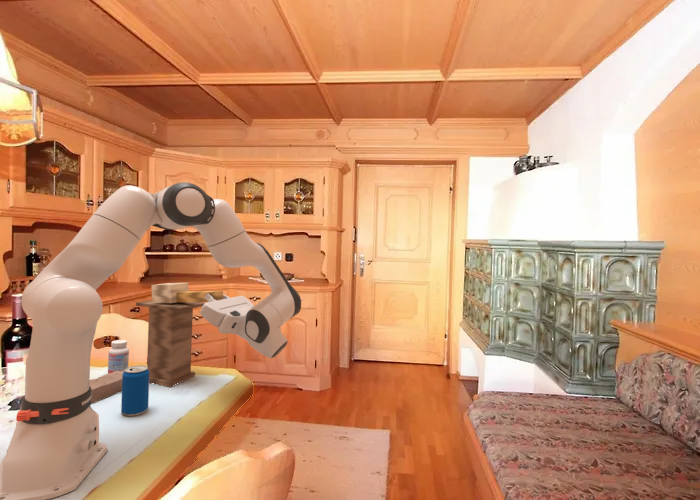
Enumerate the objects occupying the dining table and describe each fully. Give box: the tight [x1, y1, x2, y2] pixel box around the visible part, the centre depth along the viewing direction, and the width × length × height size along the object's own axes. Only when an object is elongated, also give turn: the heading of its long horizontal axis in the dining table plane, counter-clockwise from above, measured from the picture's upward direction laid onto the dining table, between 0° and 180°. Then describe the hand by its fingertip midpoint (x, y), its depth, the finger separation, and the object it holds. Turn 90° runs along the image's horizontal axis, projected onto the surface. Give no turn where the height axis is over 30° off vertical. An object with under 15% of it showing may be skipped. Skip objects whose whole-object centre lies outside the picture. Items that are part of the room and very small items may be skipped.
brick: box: [89, 371, 124, 404], centre depth 118 cm, size 17×8×5 cm, turn 162°
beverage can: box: [120, 365, 150, 417], centre depth 106 cm, size 6×6×12 cm
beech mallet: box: [151, 282, 224, 303], centre depth 128 cm, size 24×8×6 cm, turn 71°
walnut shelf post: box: [135, 299, 205, 388], centre depth 131 cm, size 18×12×26 cm, turn 71°
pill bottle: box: [107, 339, 130, 374], centre depth 134 cm, size 6×6×11 cm
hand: (211, 294), depth 125 cm, fingers closed on beech mallet, 3 cm apart
